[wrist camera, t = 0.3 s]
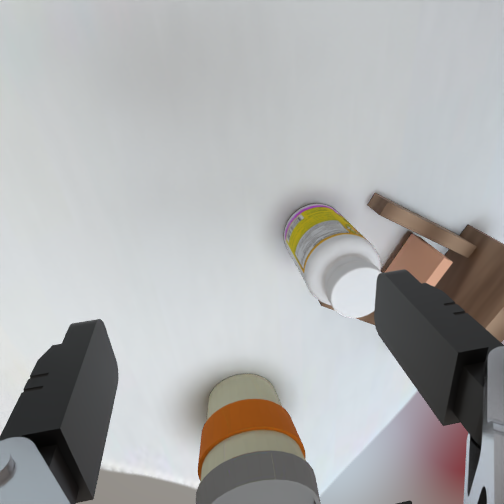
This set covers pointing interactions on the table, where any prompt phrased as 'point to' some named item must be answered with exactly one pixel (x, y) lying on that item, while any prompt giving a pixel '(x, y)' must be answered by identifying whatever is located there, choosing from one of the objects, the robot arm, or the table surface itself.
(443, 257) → the plate
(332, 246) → the supplement bottle
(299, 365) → the table surface
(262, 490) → the reusable coffee cup
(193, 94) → the table surface
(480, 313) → the cradle
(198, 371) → the table surface
